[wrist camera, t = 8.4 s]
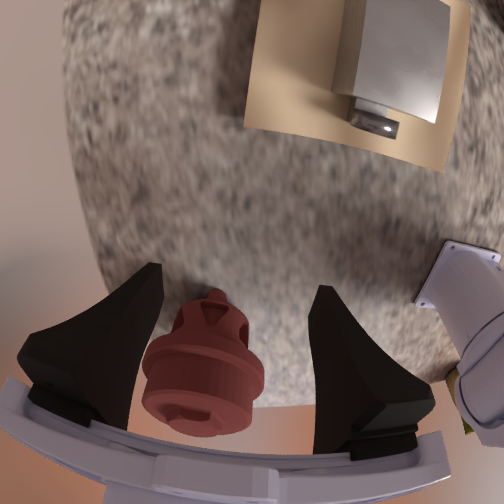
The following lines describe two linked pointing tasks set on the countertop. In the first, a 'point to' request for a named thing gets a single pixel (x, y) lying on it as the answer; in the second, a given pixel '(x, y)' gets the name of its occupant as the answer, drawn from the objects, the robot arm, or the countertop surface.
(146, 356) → the mechanical component
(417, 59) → the block
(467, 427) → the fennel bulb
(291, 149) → the countertop surface
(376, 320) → the countertop surface
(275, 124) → the stand
